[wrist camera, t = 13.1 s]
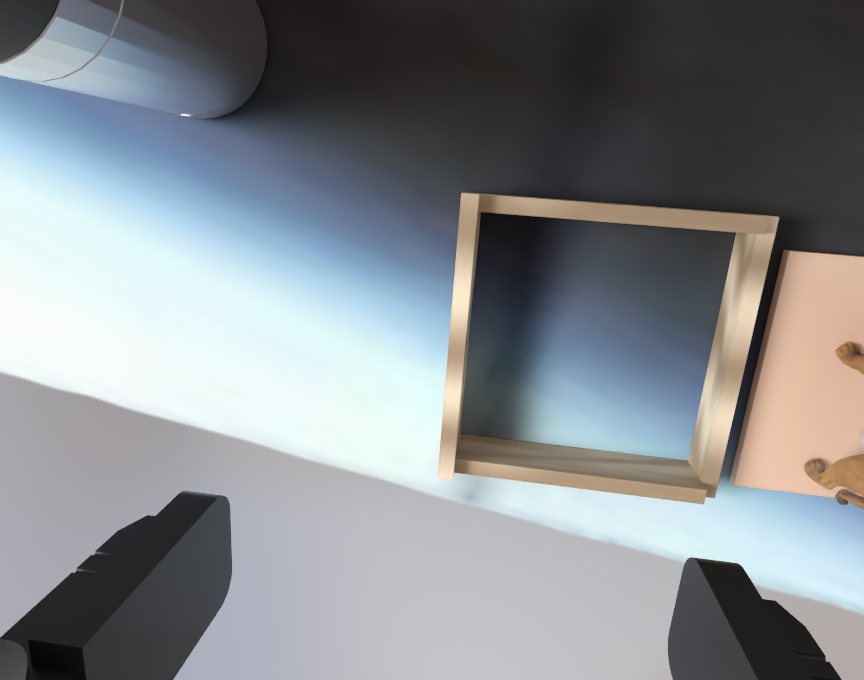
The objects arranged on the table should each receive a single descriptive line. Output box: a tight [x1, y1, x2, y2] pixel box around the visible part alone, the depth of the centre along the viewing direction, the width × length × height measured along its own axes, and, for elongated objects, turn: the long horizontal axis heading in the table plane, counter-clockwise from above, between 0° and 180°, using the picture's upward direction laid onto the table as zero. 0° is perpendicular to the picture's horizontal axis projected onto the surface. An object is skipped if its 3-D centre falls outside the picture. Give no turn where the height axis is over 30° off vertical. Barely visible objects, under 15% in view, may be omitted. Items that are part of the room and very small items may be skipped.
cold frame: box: [438, 192, 779, 504], centre depth 36 cm, size 18×18×5 cm
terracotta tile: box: [730, 250, 864, 498], centre depth 37 cm, size 16×12×1 cm
